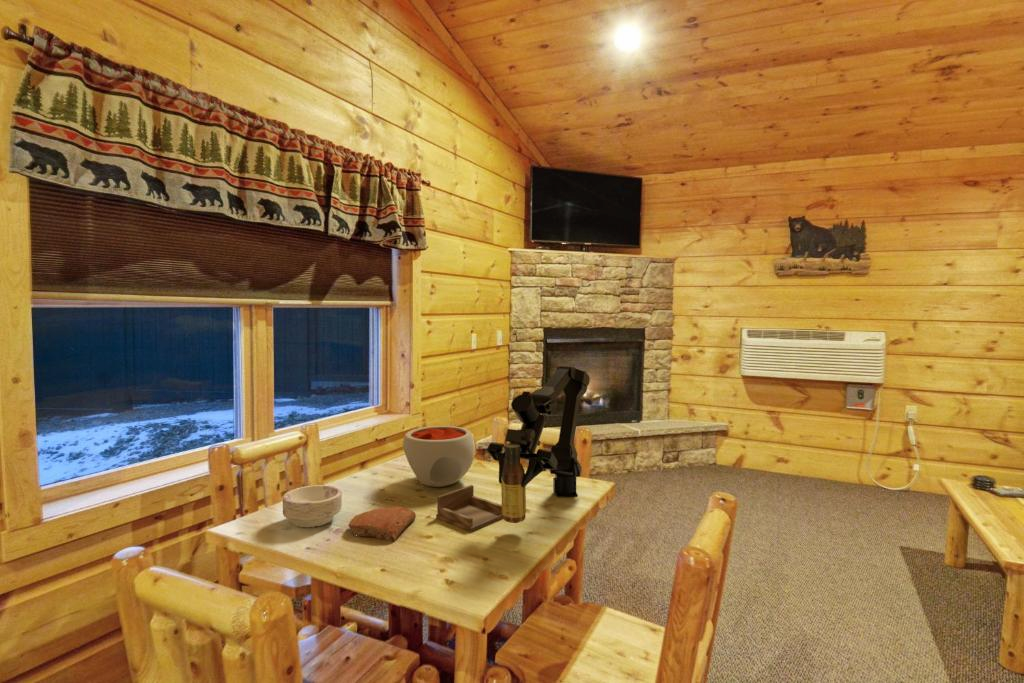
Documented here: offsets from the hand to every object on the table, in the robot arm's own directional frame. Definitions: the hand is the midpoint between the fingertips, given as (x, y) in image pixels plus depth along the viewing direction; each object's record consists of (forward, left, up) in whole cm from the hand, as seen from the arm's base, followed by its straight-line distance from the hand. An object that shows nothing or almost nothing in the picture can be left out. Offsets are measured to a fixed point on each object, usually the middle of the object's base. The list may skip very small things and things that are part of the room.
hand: (511, 484), depth 138 cm
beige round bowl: (+53, -14, -13) cm, 57 cm away
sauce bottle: (-1, -1, -10) cm, 10 cm away
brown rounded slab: (+34, -8, -14) cm, 38 cm away
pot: (+20, -43, -13) cm, 49 cm away
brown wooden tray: (+10, -13, -13) cm, 21 cm away
